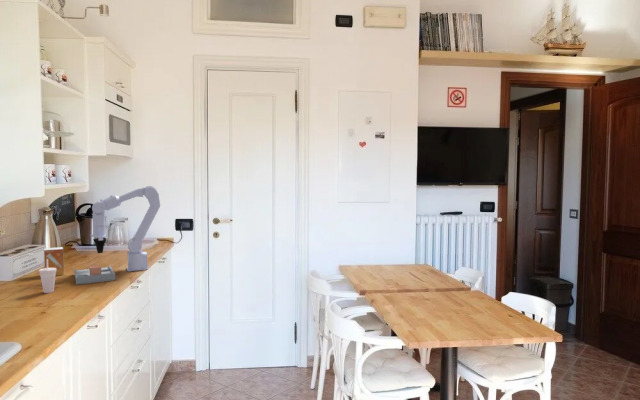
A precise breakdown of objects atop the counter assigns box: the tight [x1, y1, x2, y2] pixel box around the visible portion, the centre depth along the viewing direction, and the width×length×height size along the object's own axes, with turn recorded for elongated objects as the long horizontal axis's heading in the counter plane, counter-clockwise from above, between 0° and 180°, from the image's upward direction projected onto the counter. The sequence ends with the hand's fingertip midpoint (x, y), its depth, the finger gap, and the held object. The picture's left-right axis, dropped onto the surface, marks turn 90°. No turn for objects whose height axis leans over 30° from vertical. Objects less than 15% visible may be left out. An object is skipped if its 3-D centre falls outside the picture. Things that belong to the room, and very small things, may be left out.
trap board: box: [73, 265, 116, 285], centre depth 211 cm, size 16×22×3 cm
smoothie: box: [38, 259, 57, 294], centre depth 186 cm, size 6×6×14 cm
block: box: [88, 265, 102, 275], centre depth 205 cm, size 4×4×4 cm
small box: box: [43, 246, 65, 277], centre depth 216 cm, size 8×6×13 cm
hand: (100, 252), depth 221 cm, fingers closed
